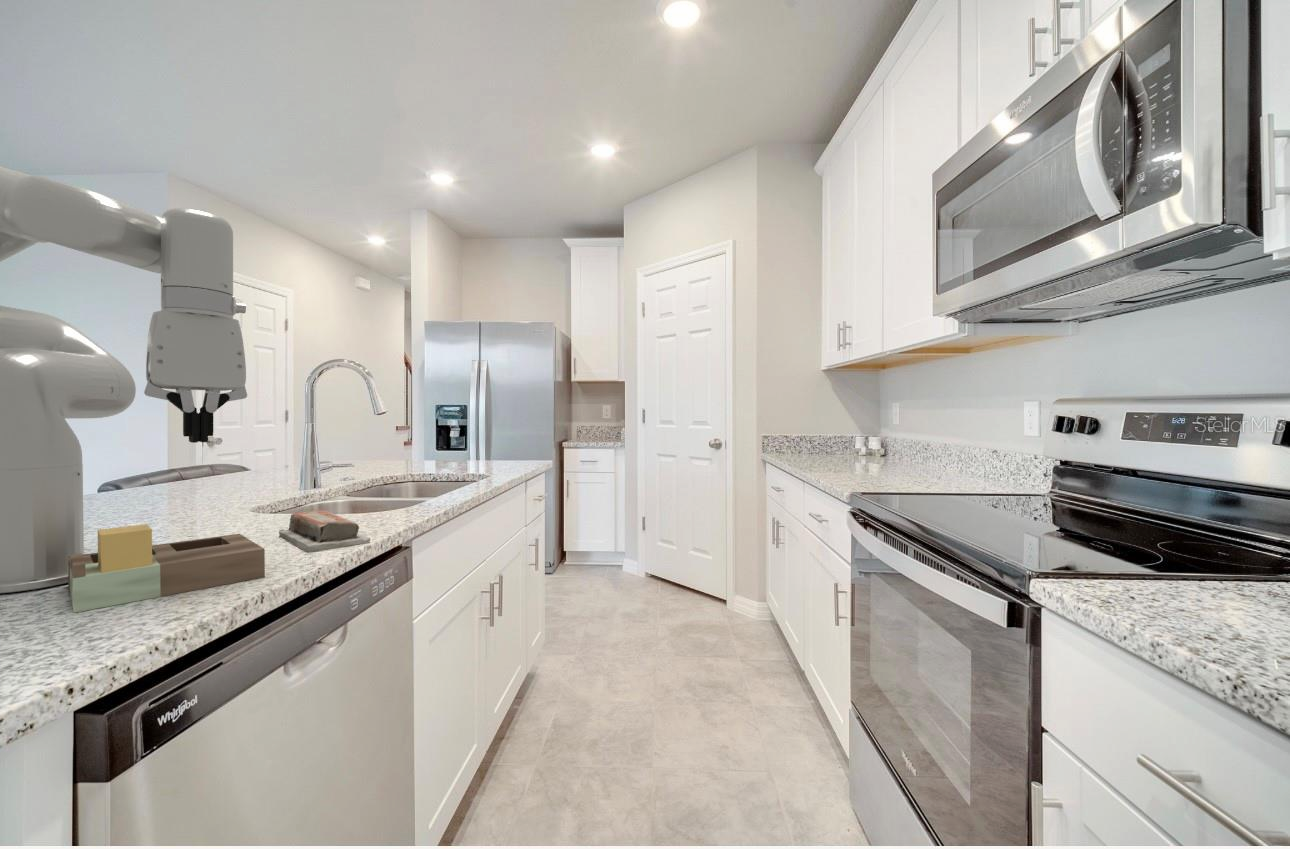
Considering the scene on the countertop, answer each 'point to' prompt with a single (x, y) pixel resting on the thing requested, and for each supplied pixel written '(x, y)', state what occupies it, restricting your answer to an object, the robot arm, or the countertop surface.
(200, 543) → the box
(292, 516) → the packaged product
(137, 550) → the ochre block
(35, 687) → the countertop surface
